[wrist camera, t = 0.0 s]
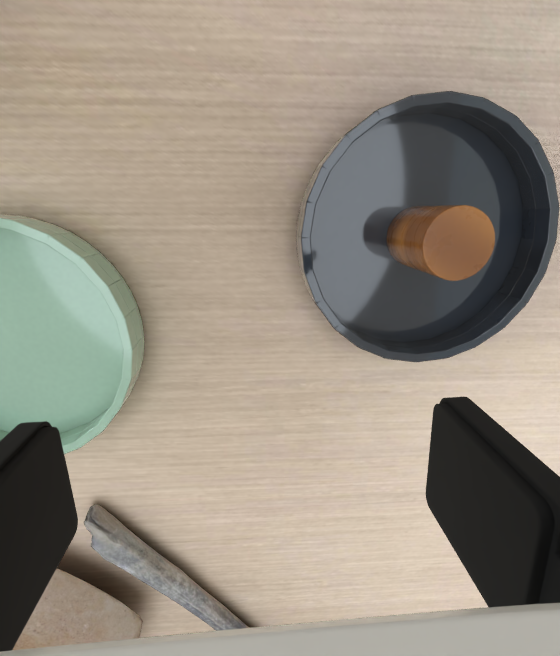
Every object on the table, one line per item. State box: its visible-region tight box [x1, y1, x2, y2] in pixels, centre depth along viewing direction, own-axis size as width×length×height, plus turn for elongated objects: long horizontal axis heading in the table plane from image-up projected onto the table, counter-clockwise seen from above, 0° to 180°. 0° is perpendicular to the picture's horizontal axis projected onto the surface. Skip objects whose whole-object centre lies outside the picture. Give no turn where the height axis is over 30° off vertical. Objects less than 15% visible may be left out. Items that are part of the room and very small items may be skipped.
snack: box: [387, 205, 495, 281], centre depth 24 cm, size 4×4×6 cm
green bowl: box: [0, 214, 144, 454], centre depth 26 cm, size 16×16×3 cm
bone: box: [84, 504, 249, 631], centre depth 33 cm, size 29×4×5 cm, turn 39°
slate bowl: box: [296, 91, 559, 362], centre depth 26 cm, size 16×16×3 cm
